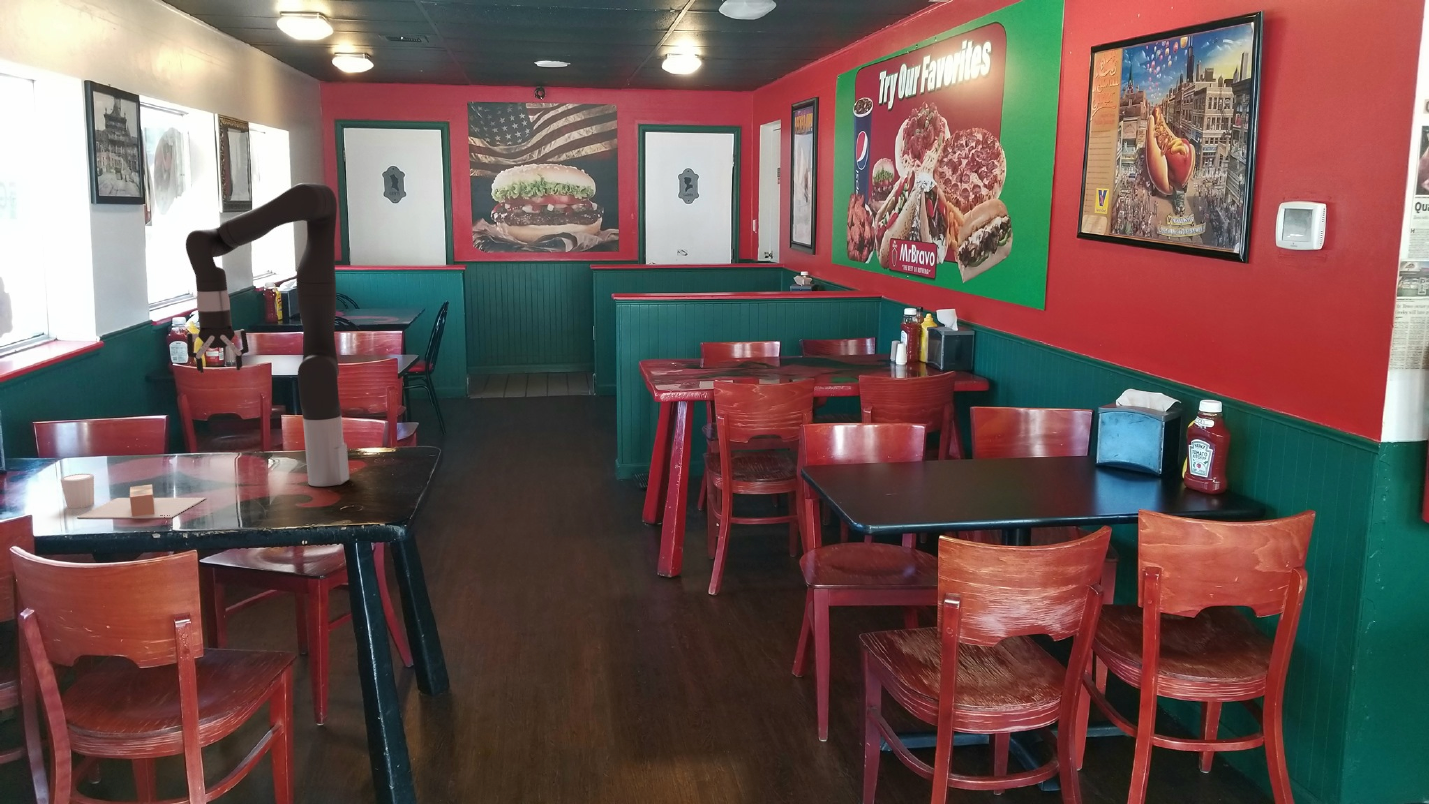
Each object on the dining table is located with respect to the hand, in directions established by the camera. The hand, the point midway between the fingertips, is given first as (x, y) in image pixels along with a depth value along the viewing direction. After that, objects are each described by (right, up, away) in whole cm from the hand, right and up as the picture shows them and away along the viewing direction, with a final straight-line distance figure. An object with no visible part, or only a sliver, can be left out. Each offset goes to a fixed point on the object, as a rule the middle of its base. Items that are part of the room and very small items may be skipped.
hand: (220, 371), depth 273 cm
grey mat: (-7, -33, -23) cm, 41 cm away
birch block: (-9, -30, -21) cm, 38 cm away
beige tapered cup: (-24, -33, -19) cm, 45 cm away
